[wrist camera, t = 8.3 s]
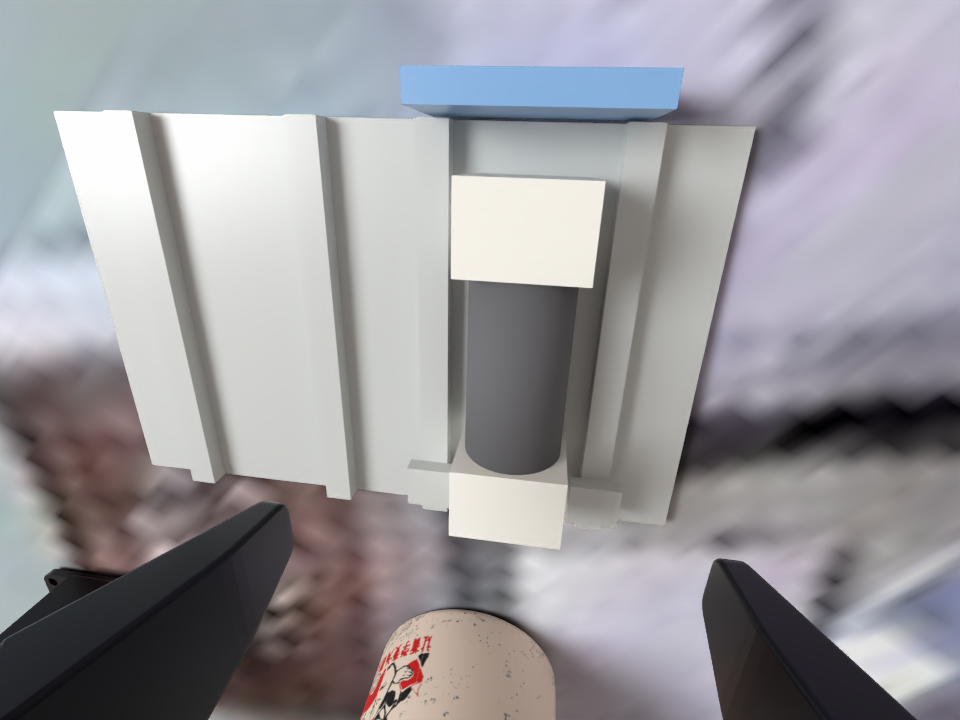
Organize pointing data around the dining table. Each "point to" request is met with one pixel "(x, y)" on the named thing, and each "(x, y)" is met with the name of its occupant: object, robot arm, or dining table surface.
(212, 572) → the robot arm
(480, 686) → the cream lidded jar
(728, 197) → the white ribbed plate
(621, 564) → the dining table surface
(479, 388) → the cream and grey dumbbell
